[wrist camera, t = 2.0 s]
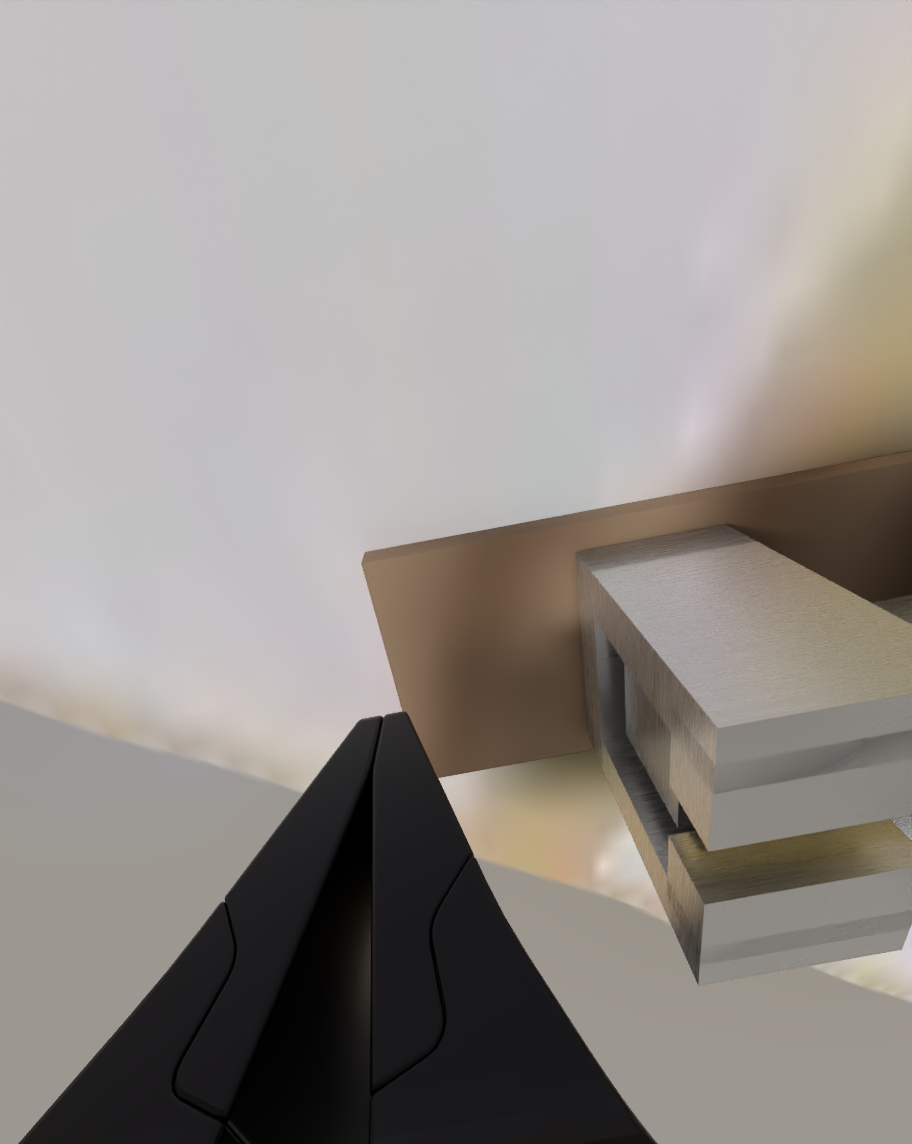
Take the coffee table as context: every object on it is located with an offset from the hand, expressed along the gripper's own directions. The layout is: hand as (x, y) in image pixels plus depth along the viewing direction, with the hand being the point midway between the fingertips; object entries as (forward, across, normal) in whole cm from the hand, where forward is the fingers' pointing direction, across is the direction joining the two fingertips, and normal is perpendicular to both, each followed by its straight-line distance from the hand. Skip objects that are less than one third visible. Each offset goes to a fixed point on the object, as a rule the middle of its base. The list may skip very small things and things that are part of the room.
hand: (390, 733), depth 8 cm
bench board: (+6, -9, +3) cm, 11 cm away
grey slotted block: (+6, -7, +3) cm, 9 cm away
